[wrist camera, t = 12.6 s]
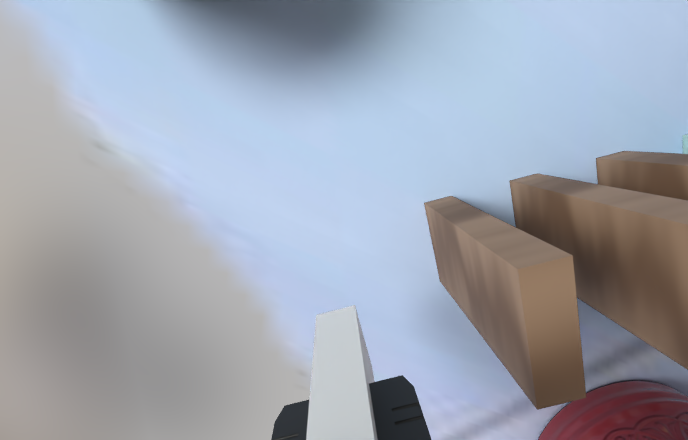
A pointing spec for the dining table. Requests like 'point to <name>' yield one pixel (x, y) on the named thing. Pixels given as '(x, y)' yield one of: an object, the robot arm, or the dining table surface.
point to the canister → (623, 414)
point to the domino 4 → (685, 144)
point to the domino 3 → (617, 252)
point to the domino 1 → (513, 297)
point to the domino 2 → (645, 172)
